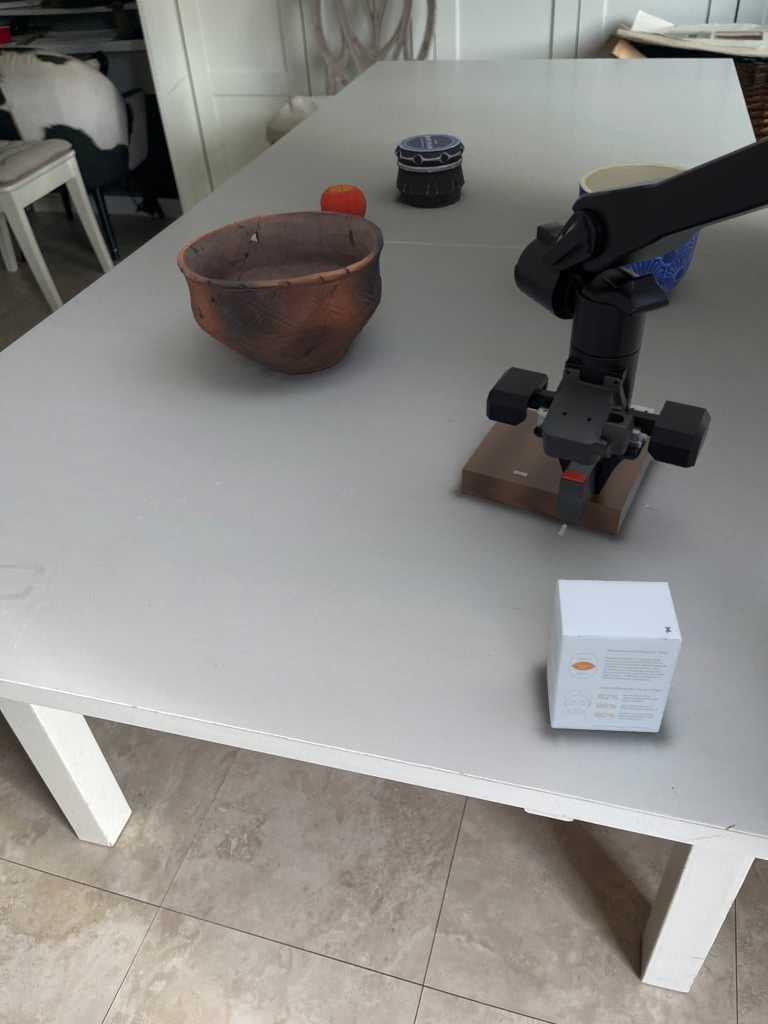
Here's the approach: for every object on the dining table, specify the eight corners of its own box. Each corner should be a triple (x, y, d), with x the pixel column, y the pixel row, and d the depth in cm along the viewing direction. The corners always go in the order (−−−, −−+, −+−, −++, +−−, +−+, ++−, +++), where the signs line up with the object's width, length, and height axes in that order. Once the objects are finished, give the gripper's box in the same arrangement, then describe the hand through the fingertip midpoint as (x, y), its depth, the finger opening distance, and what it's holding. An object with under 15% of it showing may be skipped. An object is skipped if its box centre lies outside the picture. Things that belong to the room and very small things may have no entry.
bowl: (272, 299, 120) (257, 196, 111) (420, 329, 111) (418, 219, 101) (163, 377, 104) (134, 264, 94) (326, 420, 94) (312, 299, 85)
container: (385, 194, 154) (382, 139, 148) (444, 182, 158) (444, 128, 152) (415, 214, 145) (413, 156, 139) (477, 201, 149) (478, 144, 142)
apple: (376, 228, 141) (374, 182, 136) (344, 242, 137) (340, 195, 132) (345, 218, 145) (342, 173, 140) (313, 232, 141) (309, 186, 136)
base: (680, 468, 84) (686, 443, 82) (634, 582, 71) (639, 556, 69) (507, 427, 91) (509, 403, 89) (438, 524, 79) (438, 499, 77)
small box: (647, 675, 64) (671, 579, 57) (659, 735, 59) (686, 640, 53) (544, 670, 64) (556, 576, 58) (548, 729, 60) (561, 635, 53)
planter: (705, 279, 118) (728, 171, 109) (665, 326, 108) (687, 211, 98) (596, 258, 126) (608, 156, 117) (549, 299, 116) (558, 191, 106)
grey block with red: (588, 459, 81) (594, 419, 78) (610, 464, 80) (616, 424, 77) (555, 517, 74) (560, 476, 71) (578, 524, 73) (584, 482, 70)
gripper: (462, 363, 65) (460, 511, 75) (700, 416, 58) (662, 571, 68) (513, 306, 73) (504, 447, 83) (729, 346, 65) (691, 496, 75)
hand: (584, 488), depth 77 cm, fingers closed on grey block with red, 2 cm apart
